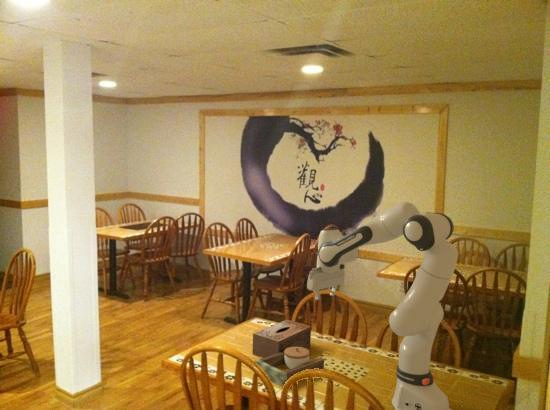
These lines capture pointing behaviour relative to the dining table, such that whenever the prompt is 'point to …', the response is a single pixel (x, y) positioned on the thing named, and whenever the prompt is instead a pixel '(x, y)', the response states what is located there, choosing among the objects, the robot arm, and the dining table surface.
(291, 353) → the lidded jar
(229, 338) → the dining table surface
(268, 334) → the tissue box cover
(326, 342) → the dining table surface
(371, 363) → the dining table surface
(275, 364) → the u-shaped frame
